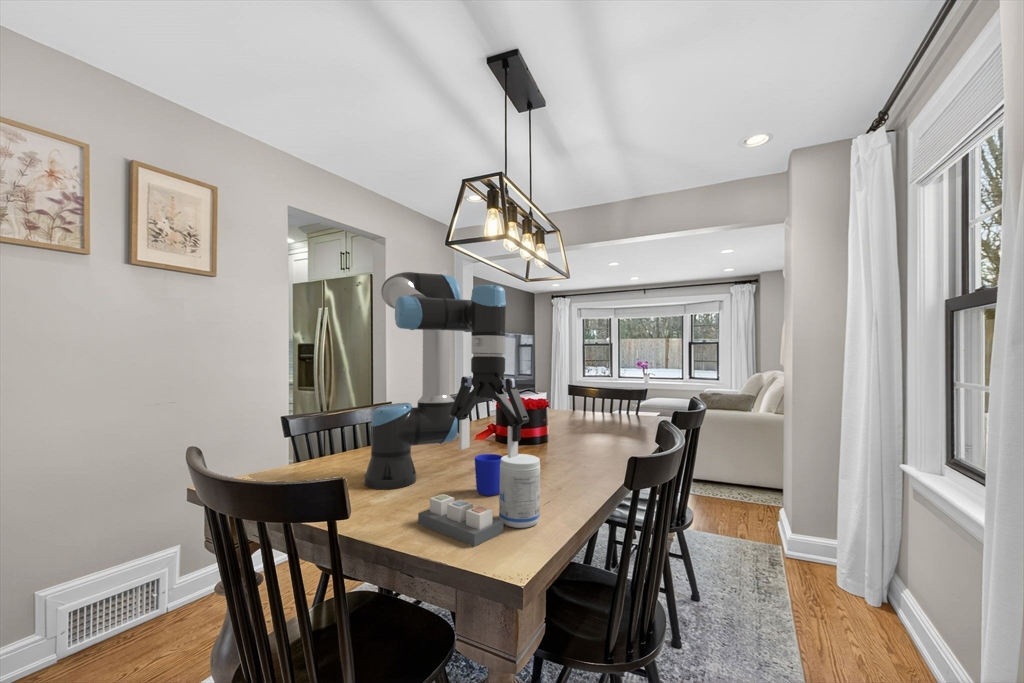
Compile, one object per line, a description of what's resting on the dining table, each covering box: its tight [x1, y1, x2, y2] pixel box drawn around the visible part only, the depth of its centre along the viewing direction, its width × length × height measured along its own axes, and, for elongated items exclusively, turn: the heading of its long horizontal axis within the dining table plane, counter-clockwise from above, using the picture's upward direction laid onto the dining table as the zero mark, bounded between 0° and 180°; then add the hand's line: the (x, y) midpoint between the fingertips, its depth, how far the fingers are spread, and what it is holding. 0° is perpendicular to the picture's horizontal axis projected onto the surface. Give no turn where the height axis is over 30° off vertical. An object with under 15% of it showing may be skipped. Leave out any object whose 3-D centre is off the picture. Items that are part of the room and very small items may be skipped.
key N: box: [429, 494, 455, 516], centre depth 100 cm, size 4×4×3 cm
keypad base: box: [417, 508, 504, 547], centre depth 97 cm, size 18×9×2 cm, turn 51°
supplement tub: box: [498, 453, 541, 529], centre depth 101 cm, size 10×10×15 cm
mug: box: [474, 453, 504, 497], centre depth 121 cm, size 8×12×10 cm
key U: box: [447, 499, 474, 523], centre depth 97 cm, size 4×4×3 cm
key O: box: [466, 505, 493, 530], centre depth 93 cm, size 4×4×3 cm
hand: (487, 452), depth 94 cm, fingers open, 13 cm apart
